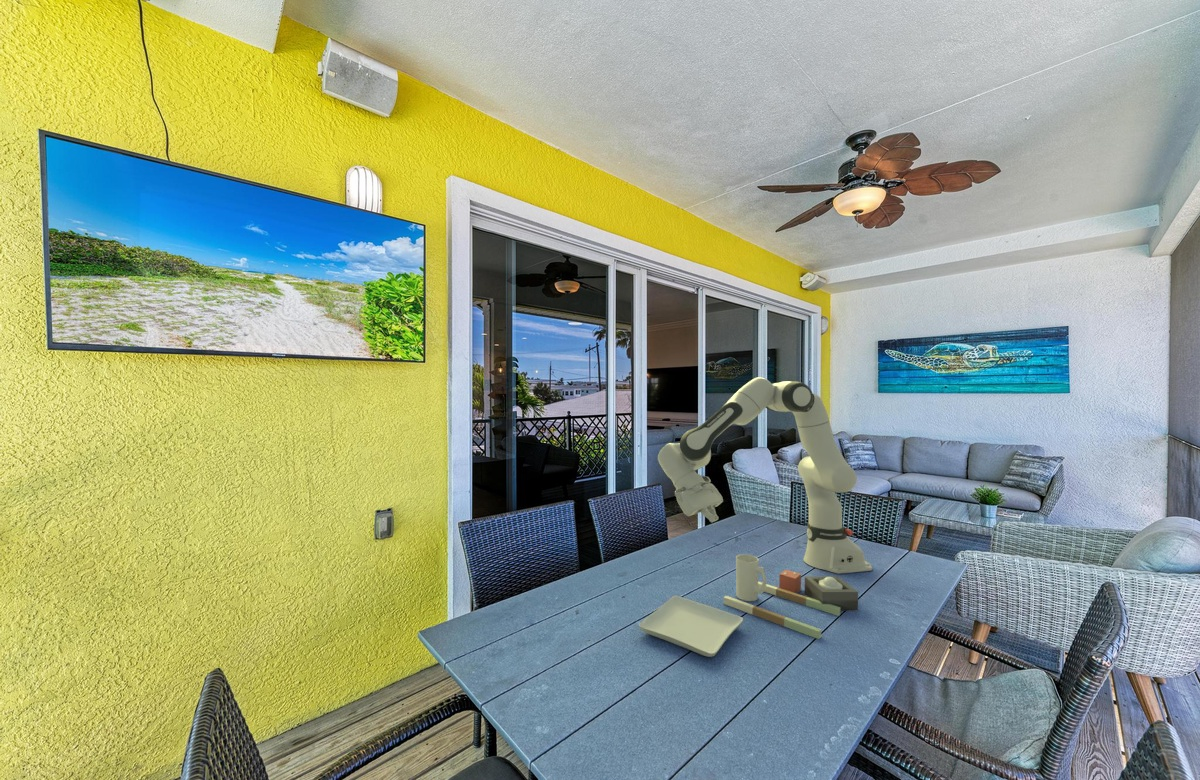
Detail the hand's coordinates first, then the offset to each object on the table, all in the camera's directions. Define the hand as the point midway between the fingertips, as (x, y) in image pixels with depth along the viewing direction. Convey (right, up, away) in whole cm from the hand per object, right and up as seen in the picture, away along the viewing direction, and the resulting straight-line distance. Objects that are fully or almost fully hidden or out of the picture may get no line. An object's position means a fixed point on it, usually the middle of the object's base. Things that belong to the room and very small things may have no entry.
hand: (715, 520), depth 146 cm
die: (+24, -22, -2) cm, 32 cm away
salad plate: (-13, -22, -27) cm, 38 cm away
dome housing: (+32, -22, -10) cm, 40 cm away
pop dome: (+32, -19, -10) cm, 39 cm away
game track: (+15, -22, -15) cm, 30 cm away
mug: (+9, -22, -8) cm, 25 cm away
